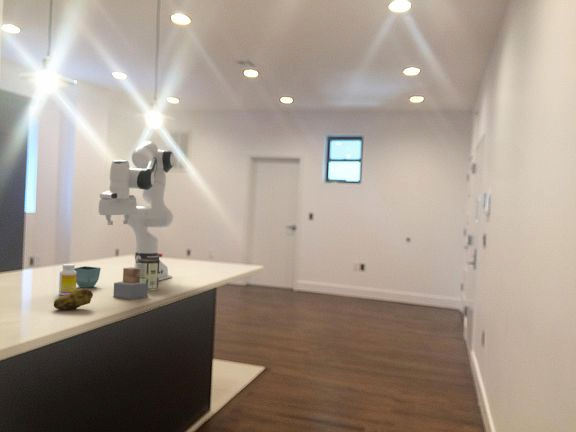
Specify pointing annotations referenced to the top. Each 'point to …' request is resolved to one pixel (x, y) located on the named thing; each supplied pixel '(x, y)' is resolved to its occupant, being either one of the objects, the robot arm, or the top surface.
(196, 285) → the top surface
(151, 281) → the coffee can
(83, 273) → the flower pot
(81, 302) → the potato
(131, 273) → the walnut block
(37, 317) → the top surface
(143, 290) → the slate base
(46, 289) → the top surface
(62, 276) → the supplement bottle
